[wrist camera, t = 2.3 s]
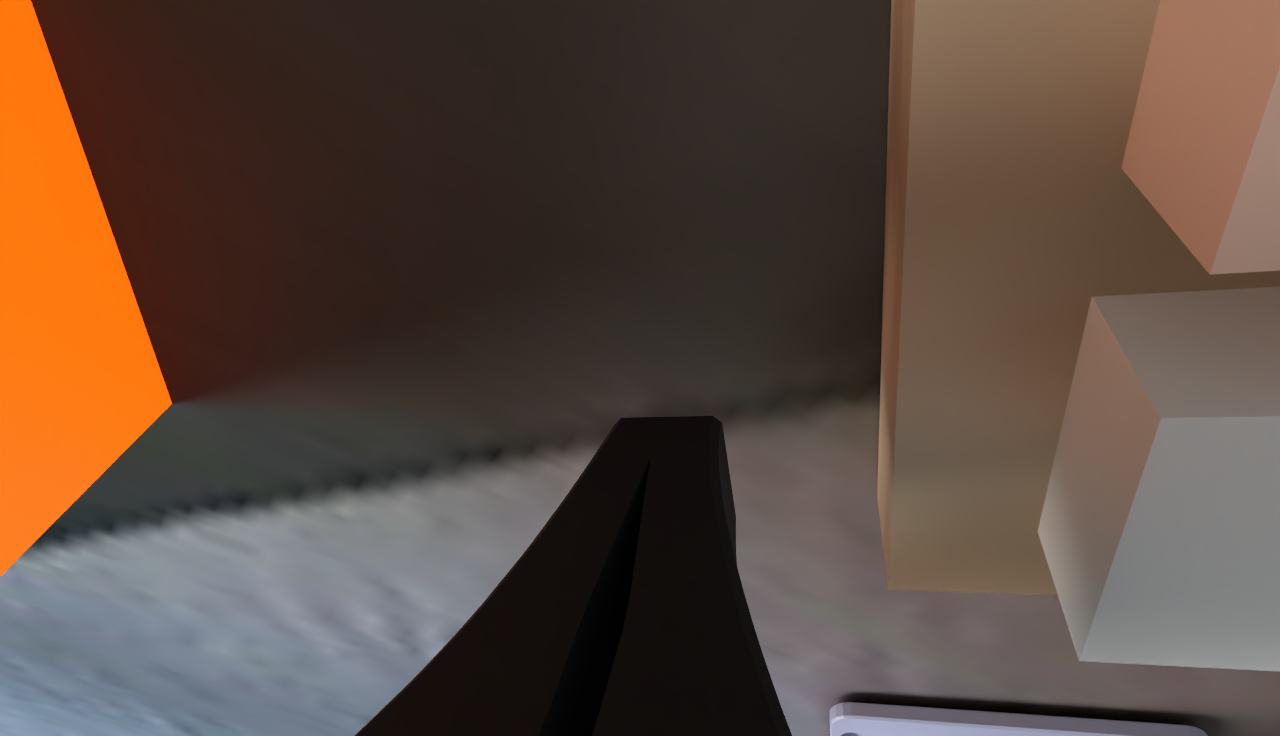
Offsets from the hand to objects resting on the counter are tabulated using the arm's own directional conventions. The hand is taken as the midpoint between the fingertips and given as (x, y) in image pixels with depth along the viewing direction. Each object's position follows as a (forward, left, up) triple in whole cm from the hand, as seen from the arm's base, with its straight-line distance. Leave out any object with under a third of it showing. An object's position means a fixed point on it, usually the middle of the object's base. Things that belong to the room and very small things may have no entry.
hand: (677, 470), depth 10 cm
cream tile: (0, -7, -1) cm, 7 cm away
